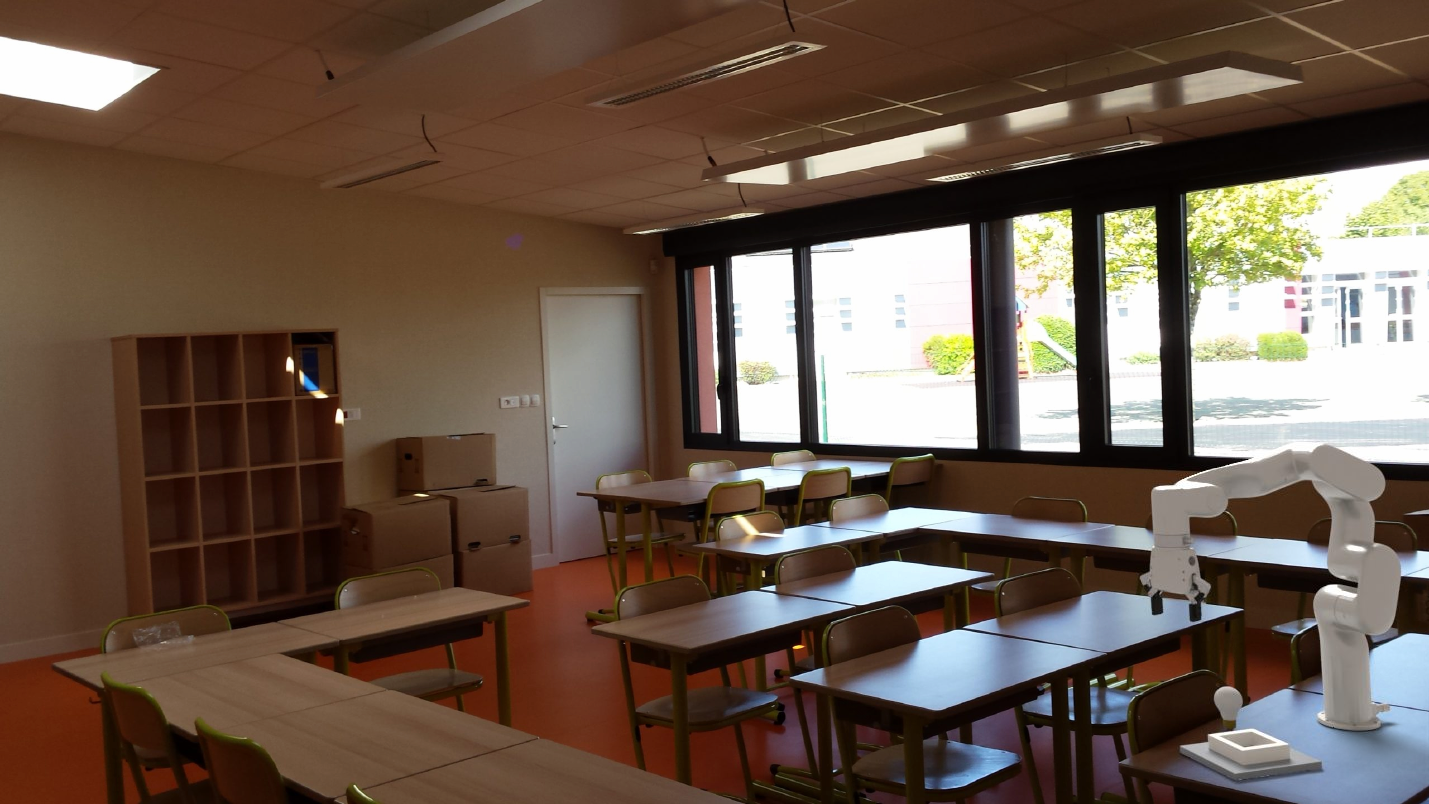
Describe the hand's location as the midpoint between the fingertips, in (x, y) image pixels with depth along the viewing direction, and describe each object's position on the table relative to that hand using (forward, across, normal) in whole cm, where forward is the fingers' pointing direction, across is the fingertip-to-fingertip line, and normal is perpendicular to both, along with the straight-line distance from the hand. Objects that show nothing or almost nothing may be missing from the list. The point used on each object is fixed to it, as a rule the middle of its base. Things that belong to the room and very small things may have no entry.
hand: (1176, 617), depth 237 cm
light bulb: (+28, -1, -15) cm, 32 cm away
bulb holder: (+28, -15, -1) cm, 32 cm away
